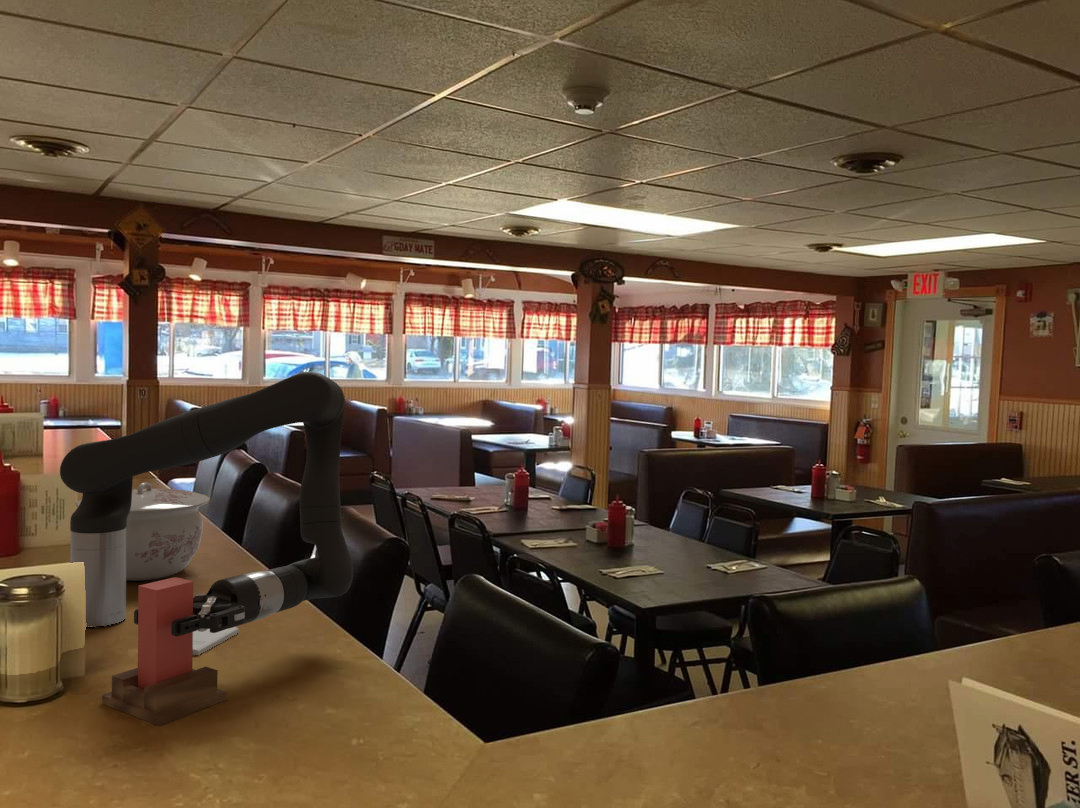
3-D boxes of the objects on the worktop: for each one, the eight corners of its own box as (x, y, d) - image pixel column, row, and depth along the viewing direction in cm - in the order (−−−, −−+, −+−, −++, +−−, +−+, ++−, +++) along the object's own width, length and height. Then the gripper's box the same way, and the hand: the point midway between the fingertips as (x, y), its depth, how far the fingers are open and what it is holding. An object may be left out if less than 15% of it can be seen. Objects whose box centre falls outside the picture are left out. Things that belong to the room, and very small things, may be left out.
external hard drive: (239, 636, 156) (198, 658, 144) (197, 632, 158) (154, 654, 145) (239, 627, 156) (198, 649, 144) (198, 623, 158) (154, 644, 145)
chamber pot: (90, 597, 175) (90, 495, 174) (63, 568, 197) (63, 478, 195) (229, 578, 193) (230, 486, 192) (190, 554, 214) (191, 470, 213)
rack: (102, 703, 123) (102, 674, 123) (170, 680, 133) (170, 653, 133) (159, 725, 117) (159, 695, 116) (226, 699, 126) (227, 671, 126)
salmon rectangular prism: (137, 696, 123) (138, 585, 122) (174, 683, 128) (175, 577, 127) (155, 703, 121) (156, 590, 120) (192, 689, 126) (193, 581, 125)
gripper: (216, 567, 140) (123, 588, 126) (278, 581, 132) (186, 605, 119) (216, 613, 140) (123, 639, 126) (277, 630, 133) (186, 659, 119)
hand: (154, 623), depth 122 cm, fingers open, 8 cm apart
